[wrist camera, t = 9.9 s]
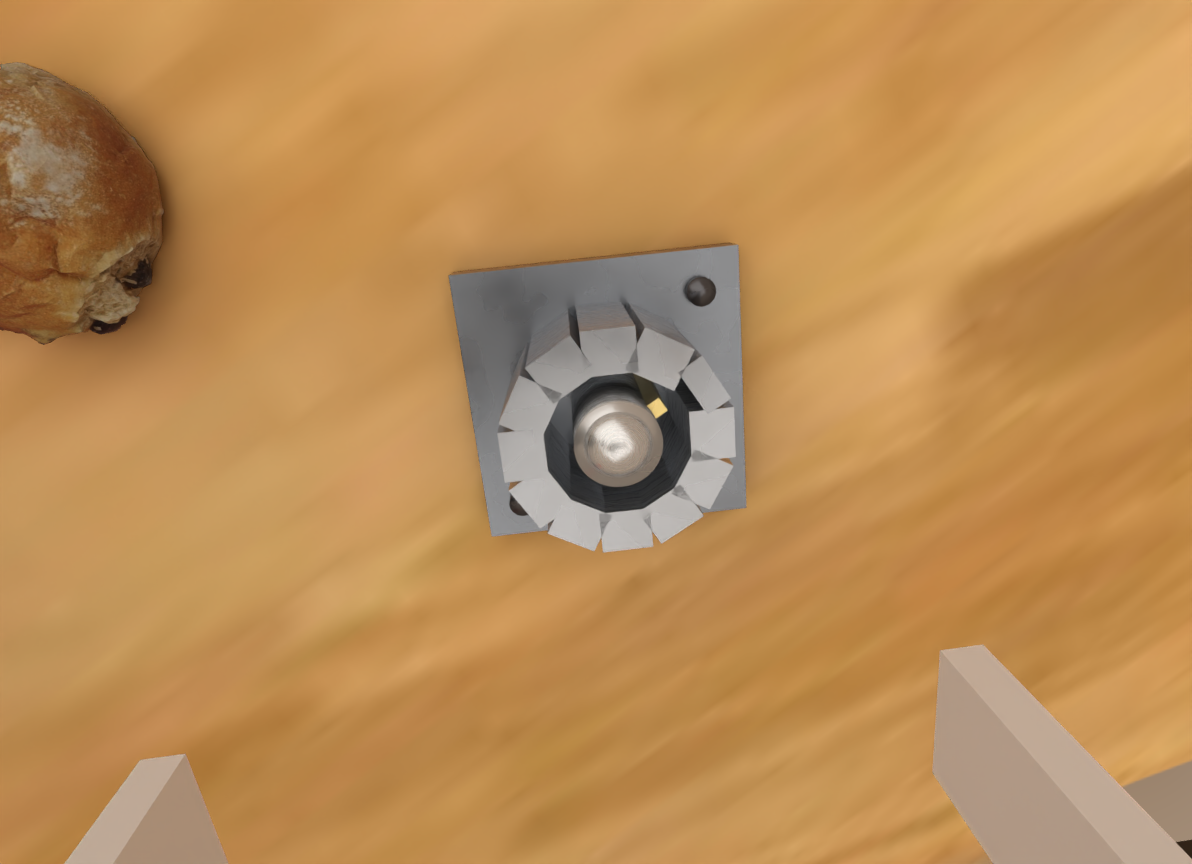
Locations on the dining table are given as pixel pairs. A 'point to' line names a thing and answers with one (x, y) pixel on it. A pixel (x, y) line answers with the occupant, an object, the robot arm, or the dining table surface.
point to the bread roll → (70, 210)
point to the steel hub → (689, 427)
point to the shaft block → (602, 403)
